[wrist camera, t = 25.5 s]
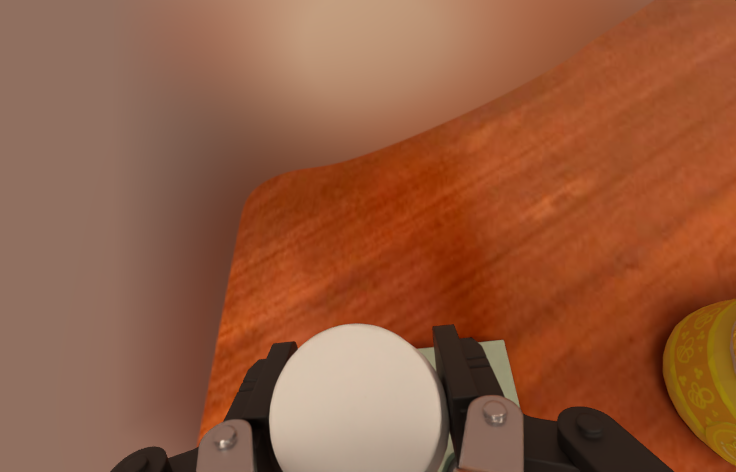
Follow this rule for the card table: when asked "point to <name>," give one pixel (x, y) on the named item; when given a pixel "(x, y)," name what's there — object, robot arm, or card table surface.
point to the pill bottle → (359, 405)
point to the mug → (705, 375)
